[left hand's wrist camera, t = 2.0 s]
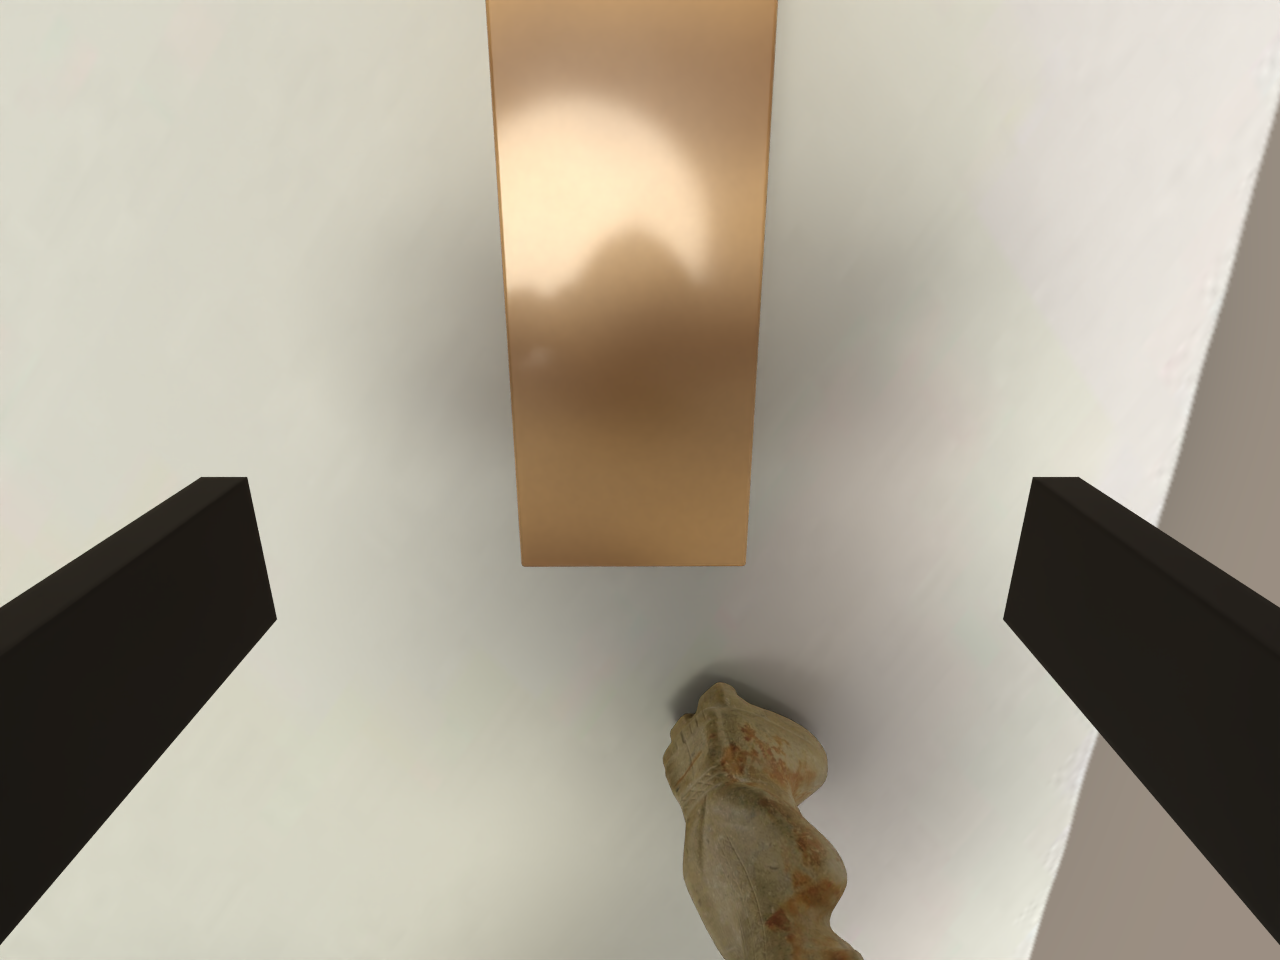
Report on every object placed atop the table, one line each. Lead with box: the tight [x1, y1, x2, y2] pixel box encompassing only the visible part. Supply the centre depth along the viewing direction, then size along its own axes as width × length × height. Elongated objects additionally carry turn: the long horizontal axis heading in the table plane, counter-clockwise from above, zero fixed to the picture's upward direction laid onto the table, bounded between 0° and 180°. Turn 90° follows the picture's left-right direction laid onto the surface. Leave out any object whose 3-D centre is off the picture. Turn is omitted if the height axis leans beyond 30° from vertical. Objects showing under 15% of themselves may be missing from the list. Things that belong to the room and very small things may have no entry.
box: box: [485, 0, 778, 567], centre depth 21 cm, size 22×6×9 cm, turn 0°
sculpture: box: [663, 682, 864, 960], centre depth 27 cm, size 6×7×15 cm
